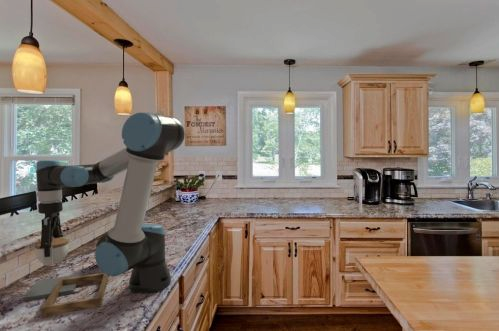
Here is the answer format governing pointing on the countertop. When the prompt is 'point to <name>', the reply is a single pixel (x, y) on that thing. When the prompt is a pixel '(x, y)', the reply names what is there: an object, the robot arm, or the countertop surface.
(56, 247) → the lidded jar
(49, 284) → the trivet
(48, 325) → the countertop surface
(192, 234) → the countertop surface
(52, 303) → the pocket frame
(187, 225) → the countertop surface
